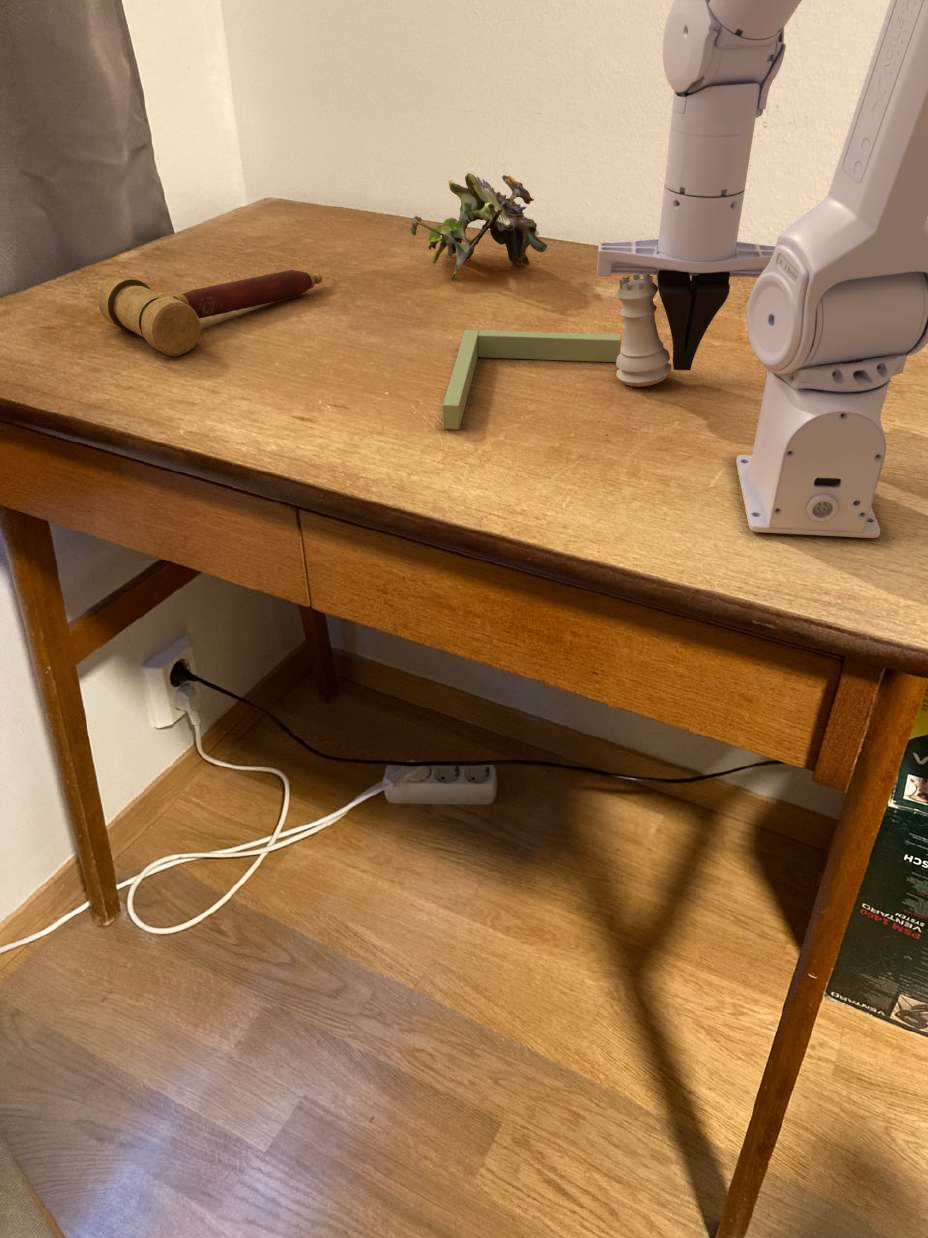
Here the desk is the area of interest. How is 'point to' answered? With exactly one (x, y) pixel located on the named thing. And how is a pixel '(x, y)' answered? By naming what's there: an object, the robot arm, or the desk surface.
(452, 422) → the corner guide
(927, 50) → the robot arm
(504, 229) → the passion flower
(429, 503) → the desk surface
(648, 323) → the rook chess piece
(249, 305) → the gavel
